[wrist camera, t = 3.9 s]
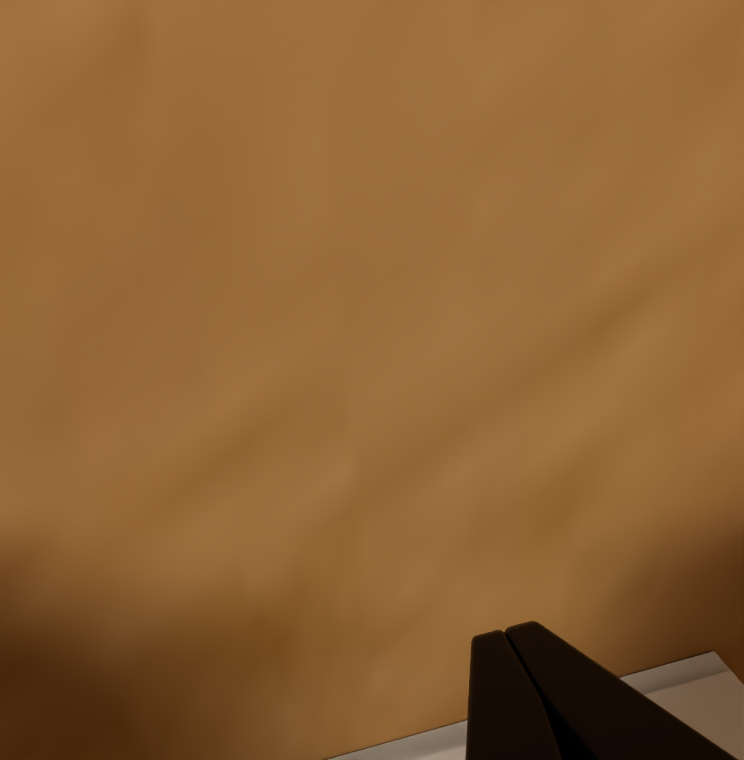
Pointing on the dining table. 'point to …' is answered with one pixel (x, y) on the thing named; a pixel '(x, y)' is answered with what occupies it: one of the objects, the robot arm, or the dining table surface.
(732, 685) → the box
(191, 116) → the dining table surface
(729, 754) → the robot arm
